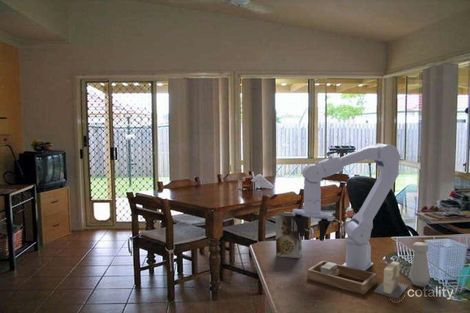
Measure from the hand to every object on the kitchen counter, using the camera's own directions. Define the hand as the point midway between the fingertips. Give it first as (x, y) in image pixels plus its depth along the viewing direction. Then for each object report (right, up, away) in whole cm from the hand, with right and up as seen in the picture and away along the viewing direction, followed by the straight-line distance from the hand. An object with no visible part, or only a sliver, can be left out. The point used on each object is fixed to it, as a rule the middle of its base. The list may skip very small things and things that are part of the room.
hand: (312, 238), depth 136 cm
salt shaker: (+31, -12, -14) cm, 36 cm away
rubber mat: (+20, -12, -18) cm, 29 cm away
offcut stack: (+4, -11, -7) cm, 14 cm away
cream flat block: (+20, -12, -18) cm, 29 cm away
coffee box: (-6, -9, +14) cm, 18 cm away
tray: (+7, -11, -11) cm, 17 cm away
